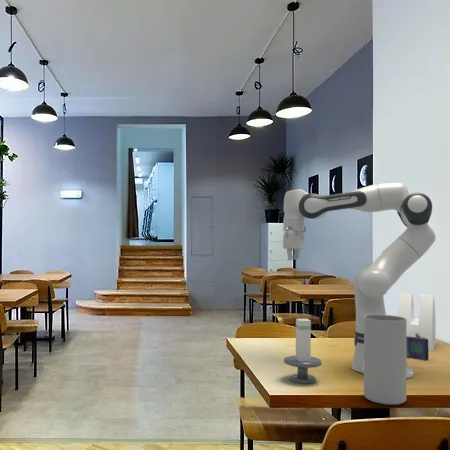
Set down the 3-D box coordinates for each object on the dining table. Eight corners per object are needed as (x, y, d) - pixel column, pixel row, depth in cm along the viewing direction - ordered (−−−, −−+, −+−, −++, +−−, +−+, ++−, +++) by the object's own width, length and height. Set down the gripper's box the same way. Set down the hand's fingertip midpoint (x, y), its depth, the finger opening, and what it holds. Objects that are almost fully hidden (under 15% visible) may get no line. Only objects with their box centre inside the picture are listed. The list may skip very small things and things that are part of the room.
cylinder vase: (357, 392, 150) (358, 314, 152) (395, 392, 151) (395, 314, 152) (372, 405, 138) (373, 320, 139) (413, 405, 139) (413, 321, 140)
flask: (405, 357, 201) (405, 332, 201) (407, 356, 203) (407, 331, 204) (427, 360, 195) (427, 335, 195) (429, 359, 197) (429, 334, 198)
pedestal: (324, 377, 166) (325, 358, 167) (316, 387, 155) (317, 366, 155) (289, 373, 172) (289, 354, 172) (279, 382, 160) (279, 361, 160)
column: (306, 358, 166) (306, 318, 166) (310, 361, 162) (311, 320, 162) (295, 358, 165) (295, 318, 166) (299, 361, 161) (299, 320, 162)
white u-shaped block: (432, 351, 214) (432, 296, 215) (396, 347, 221) (396, 294, 222) (435, 344, 230) (435, 293, 232) (402, 340, 238) (402, 291, 239)
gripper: (294, 226, 187) (294, 260, 186) (306, 228, 206) (306, 259, 205) (279, 226, 190) (279, 260, 189) (292, 228, 208) (292, 259, 208)
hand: (293, 259), depth 197 cm, fingers open, 8 cm apart
